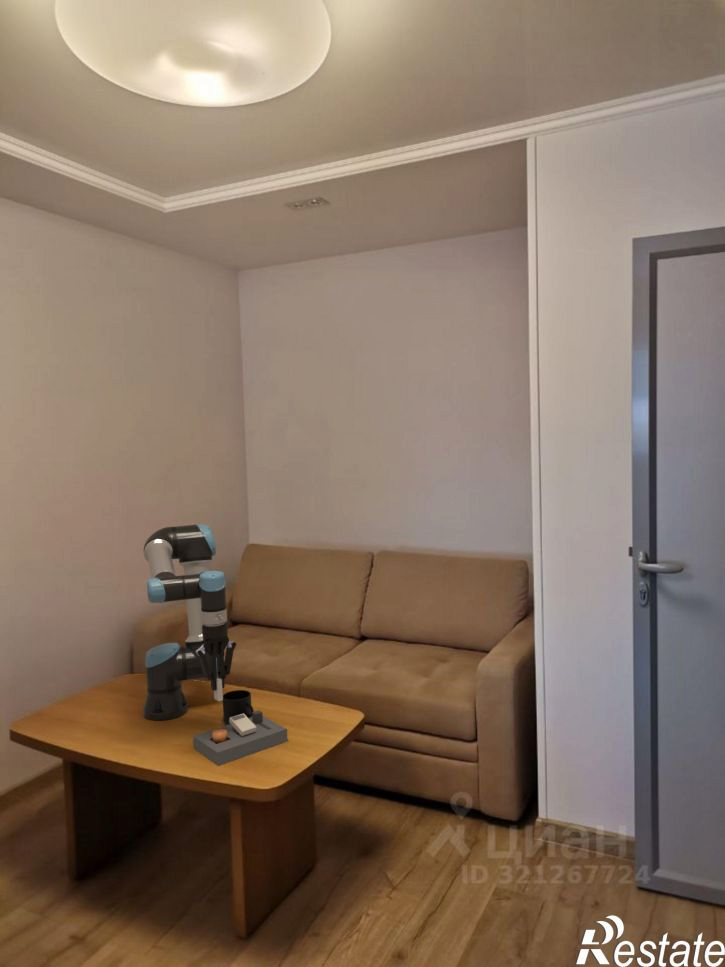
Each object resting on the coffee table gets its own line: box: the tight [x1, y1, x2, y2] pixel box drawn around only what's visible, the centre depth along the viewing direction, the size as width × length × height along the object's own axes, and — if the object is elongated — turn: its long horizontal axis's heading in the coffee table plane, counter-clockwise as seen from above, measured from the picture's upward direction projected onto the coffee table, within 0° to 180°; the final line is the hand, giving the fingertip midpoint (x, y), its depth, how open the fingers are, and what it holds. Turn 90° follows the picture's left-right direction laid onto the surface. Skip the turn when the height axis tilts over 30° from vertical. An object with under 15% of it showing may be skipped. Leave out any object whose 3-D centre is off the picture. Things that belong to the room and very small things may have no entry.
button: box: [212, 729, 227, 744], centre depth 222 cm, size 4×4×6 cm
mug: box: [222, 689, 254, 726], centre depth 245 cm, size 9×12×9 cm
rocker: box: [229, 713, 257, 736], centre depth 227 cm, size 8×5×2 cm, turn 39°
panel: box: [192, 715, 288, 767], centre depth 227 cm, size 16×24×5 cm, turn 129°
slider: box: [252, 710, 264, 723], centre depth 234 cm, size 2×2×3 cm
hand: (218, 699), depth 222 cm, fingers closed
